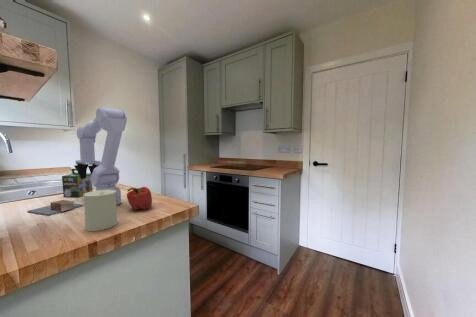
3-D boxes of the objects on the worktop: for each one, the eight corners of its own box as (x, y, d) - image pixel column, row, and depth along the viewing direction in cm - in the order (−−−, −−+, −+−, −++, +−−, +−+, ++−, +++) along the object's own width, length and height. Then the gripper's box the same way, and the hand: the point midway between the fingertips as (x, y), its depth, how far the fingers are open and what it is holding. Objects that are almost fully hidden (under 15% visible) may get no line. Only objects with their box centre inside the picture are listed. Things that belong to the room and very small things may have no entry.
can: (88, 234, 61) (87, 196, 60) (81, 225, 67) (80, 191, 66) (121, 225, 68) (120, 191, 67) (112, 218, 74) (111, 187, 73)
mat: (83, 205, 88) (83, 204, 88) (48, 215, 76) (48, 214, 76) (63, 203, 92) (63, 202, 92) (27, 212, 80) (27, 210, 79)
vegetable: (136, 214, 78) (135, 190, 77) (119, 210, 82) (118, 187, 81) (158, 206, 87) (157, 184, 87) (142, 203, 92) (141, 182, 91)
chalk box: (93, 193, 111) (91, 167, 110) (78, 197, 101) (76, 169, 100) (78, 192, 112) (77, 167, 110) (62, 197, 102) (60, 169, 101)
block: (63, 206, 85) (73, 207, 83) (51, 209, 81) (61, 211, 79) (63, 199, 85) (73, 201, 83) (50, 202, 81) (61, 204, 79)
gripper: (68, 152, 95) (69, 179, 96) (90, 152, 91) (91, 181, 92) (83, 151, 102) (84, 177, 103) (104, 152, 98) (105, 178, 99)
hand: (88, 179), depth 98 cm, fingers open, 7 cm apart
